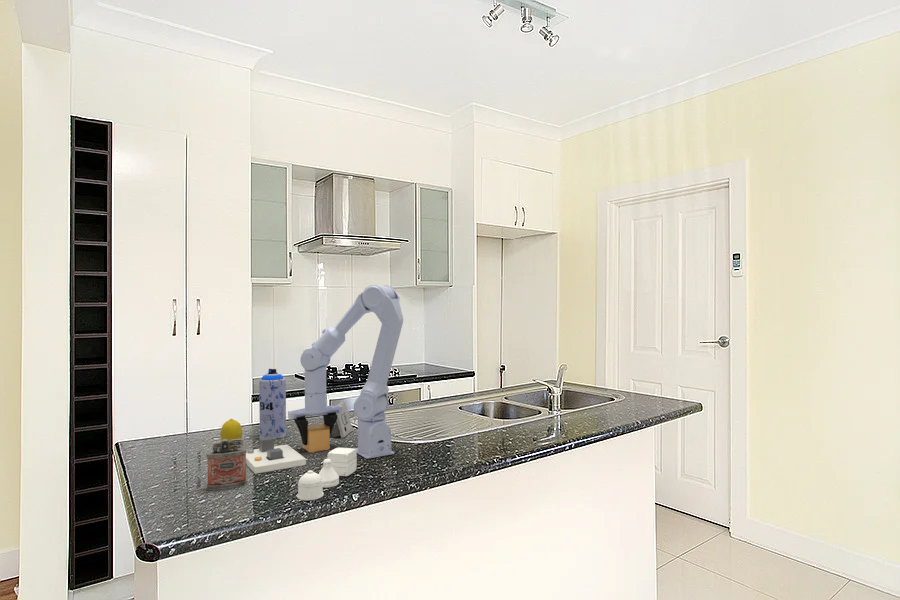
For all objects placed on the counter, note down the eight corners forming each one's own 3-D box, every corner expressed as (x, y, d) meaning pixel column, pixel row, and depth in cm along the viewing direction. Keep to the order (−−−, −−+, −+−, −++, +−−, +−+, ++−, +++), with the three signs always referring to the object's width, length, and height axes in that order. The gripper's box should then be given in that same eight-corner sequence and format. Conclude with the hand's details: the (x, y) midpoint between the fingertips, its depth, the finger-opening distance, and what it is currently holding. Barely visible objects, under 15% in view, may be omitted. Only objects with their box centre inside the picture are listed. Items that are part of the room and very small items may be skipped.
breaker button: (282, 462, 133) (282, 450, 133) (270, 465, 131) (270, 452, 131) (279, 460, 135) (279, 448, 135) (267, 462, 133) (267, 449, 133)
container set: (336, 470, 128) (336, 446, 128) (357, 471, 127) (357, 448, 127) (292, 500, 109) (292, 473, 109) (315, 502, 108) (315, 474, 108)
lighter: (206, 491, 114) (206, 443, 114) (206, 486, 117) (206, 440, 117) (247, 485, 117) (246, 439, 117) (246, 480, 120) (246, 436, 120)
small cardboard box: (329, 449, 146) (329, 426, 146) (309, 452, 142) (309, 429, 142) (322, 444, 150) (322, 423, 150) (302, 447, 147) (302, 425, 147)
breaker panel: (306, 464, 132) (305, 446, 132) (255, 473, 125) (254, 454, 125) (287, 450, 145) (286, 433, 145) (240, 457, 139) (240, 439, 139)
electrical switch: (344, 438, 157) (341, 406, 157) (327, 440, 157) (323, 408, 157) (353, 431, 166) (350, 401, 166) (336, 432, 167) (333, 402, 167)
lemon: (216, 449, 146) (215, 420, 146) (230, 444, 151) (230, 416, 151) (232, 451, 144) (232, 421, 144) (246, 446, 149) (246, 417, 150)
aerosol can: (253, 438, 158) (252, 370, 158) (269, 432, 166) (269, 366, 166) (276, 440, 156) (275, 370, 156) (292, 433, 163) (291, 367, 163)
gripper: (335, 388, 154) (336, 435, 154) (284, 393, 146) (285, 443, 146) (345, 391, 148) (345, 440, 148) (292, 396, 140) (292, 449, 140)
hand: (316, 442), depth 146 cm, fingers closed on small cardboard box, 6 cm apart
